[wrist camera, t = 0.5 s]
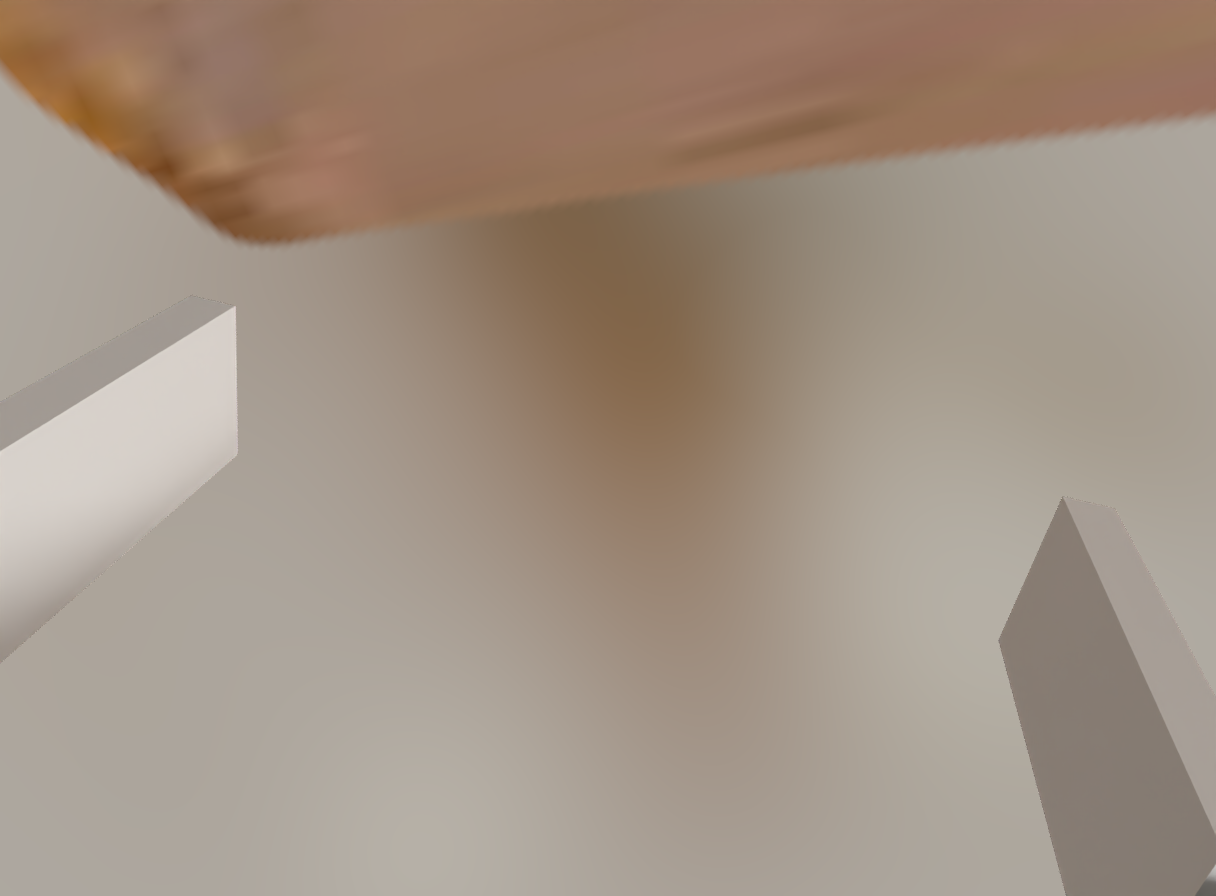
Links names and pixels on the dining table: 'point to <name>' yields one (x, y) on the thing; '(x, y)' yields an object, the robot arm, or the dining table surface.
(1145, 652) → the robot arm
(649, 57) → the dining table surface
